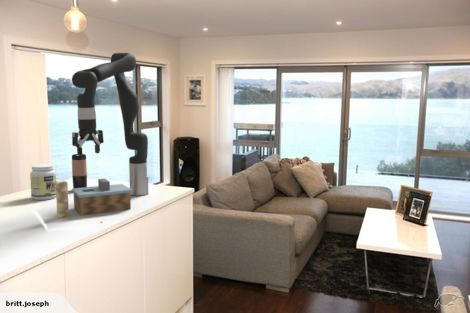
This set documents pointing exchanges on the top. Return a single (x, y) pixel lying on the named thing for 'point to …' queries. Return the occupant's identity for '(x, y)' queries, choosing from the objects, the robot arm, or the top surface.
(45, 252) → the top surface
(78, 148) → the robot arm
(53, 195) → the supplement tub
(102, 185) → the lid
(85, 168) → the travel mug
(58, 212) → the beech key
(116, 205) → the wooden box
